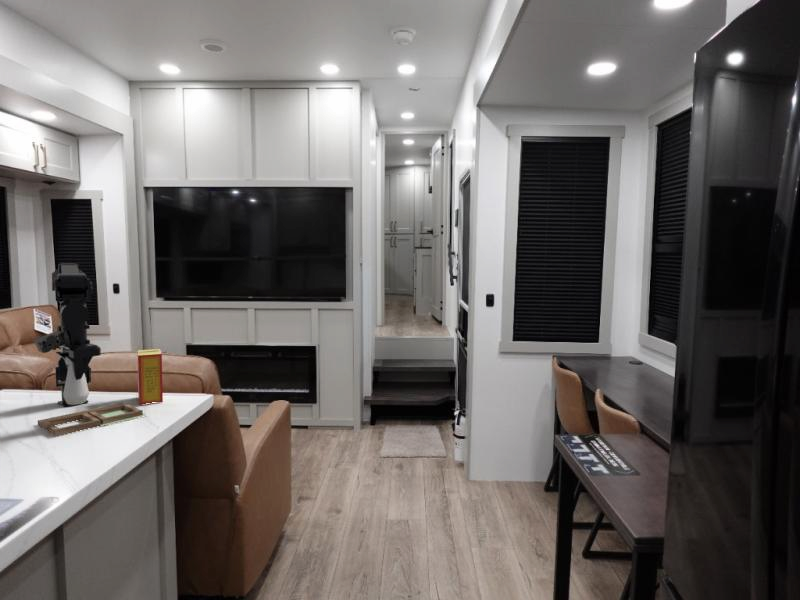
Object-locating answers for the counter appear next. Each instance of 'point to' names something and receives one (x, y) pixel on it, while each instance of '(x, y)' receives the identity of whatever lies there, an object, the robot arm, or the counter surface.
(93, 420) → the frame
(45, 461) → the counter surface
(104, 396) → the counter surface
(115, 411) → the card
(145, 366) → the baking soda box
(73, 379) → the salt shaker
